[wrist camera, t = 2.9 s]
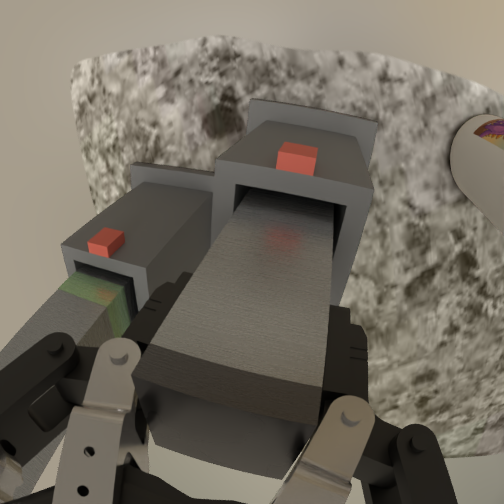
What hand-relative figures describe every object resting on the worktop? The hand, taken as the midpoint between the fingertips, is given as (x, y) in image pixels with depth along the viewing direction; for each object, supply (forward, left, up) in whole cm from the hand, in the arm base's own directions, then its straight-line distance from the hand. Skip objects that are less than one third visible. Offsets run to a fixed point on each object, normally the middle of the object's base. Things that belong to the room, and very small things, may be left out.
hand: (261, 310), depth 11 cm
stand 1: (+11, +7, -18) cm, 22 cm away
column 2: (0, 0, -17) cm, 17 cm away
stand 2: (0, 0, -18) cm, 18 cm away
